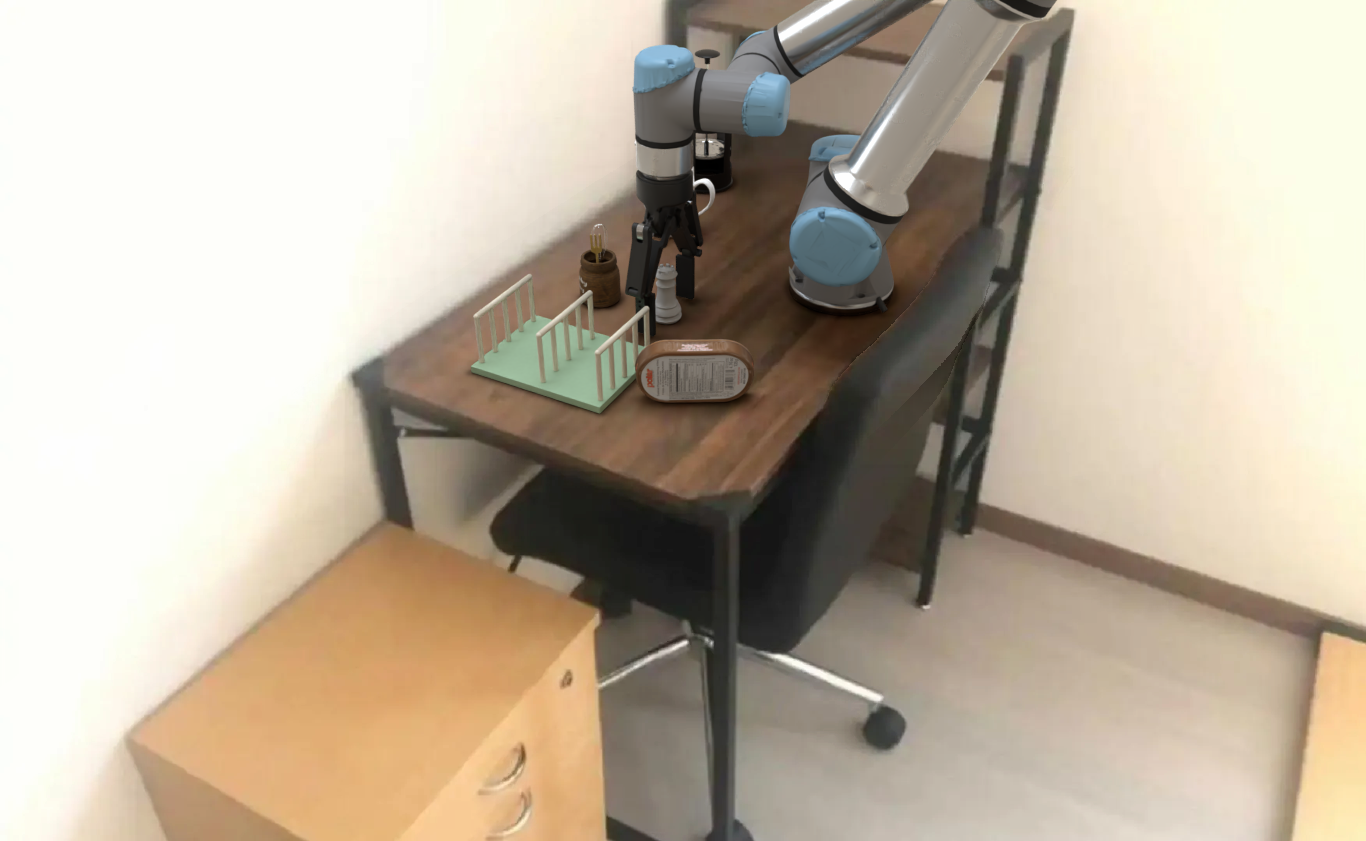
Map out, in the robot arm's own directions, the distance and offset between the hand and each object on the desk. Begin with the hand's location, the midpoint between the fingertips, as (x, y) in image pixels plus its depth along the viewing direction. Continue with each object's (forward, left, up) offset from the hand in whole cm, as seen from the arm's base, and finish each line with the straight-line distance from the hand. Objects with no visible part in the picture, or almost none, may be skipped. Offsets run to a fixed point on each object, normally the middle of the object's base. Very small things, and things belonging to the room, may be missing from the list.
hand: (666, 314), depth 160 cm
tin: (-13, +16, -1) cm, 21 cm away
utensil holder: (+11, 0, -1) cm, 11 cm away
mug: (+11, -24, -1) cm, 26 cm away
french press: (+16, -44, -1) cm, 47 cm away
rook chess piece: (0, 0, -1) cm, 1 cm away
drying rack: (+6, +17, 0) cm, 18 cm away
